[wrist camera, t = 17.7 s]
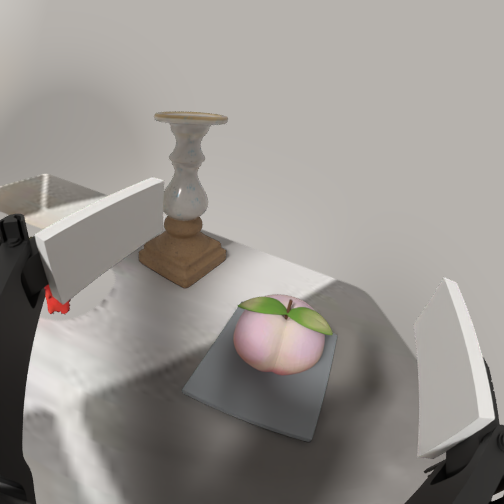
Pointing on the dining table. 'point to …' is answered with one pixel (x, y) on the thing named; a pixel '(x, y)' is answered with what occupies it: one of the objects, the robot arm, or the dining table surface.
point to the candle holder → (185, 207)
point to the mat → (261, 387)
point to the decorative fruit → (280, 334)
